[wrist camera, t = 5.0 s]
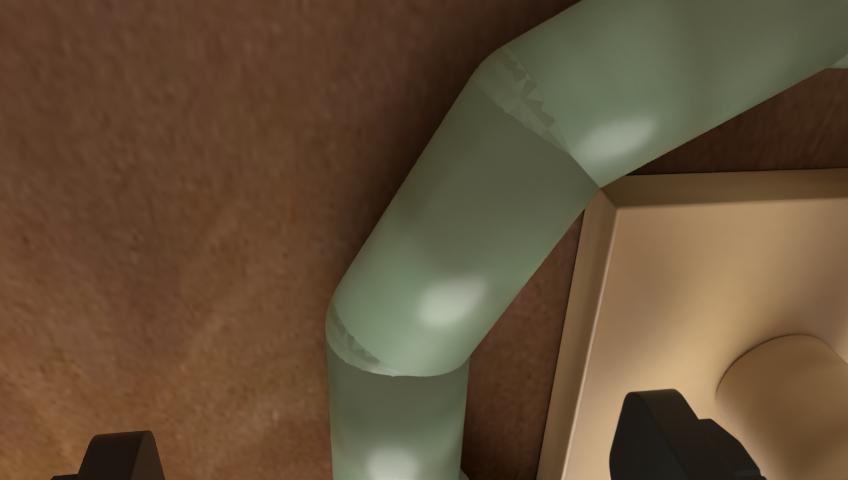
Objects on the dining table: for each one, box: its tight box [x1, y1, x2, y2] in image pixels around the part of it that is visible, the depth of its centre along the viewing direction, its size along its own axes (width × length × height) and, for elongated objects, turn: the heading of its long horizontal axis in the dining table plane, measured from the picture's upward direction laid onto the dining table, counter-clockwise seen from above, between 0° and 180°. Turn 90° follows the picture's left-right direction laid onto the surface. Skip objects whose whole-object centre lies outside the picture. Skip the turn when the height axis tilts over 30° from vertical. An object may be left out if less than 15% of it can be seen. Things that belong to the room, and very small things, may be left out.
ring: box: [325, 0, 848, 480], centre depth 13 cm, size 17×17×2 cm
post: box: [536, 168, 848, 480], centre depth 11 cm, size 8×8×6 cm
